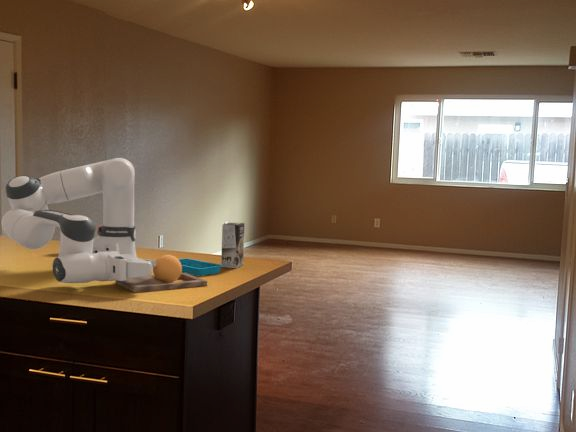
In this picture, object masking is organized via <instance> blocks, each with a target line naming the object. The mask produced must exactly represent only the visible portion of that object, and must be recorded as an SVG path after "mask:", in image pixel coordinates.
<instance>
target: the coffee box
mask: <svg viewBox="0 0 576 432" xmlns="http://www.w3.org/2000/svg"><path fill="white" fill-rule="evenodd" d="M221 232H222V233H221V255H220V256H221V257H220V258H221V262H220V263H221V264H220V265H223V266H222V267H221V268H225V267H226V268H227V269H238V268H240V267H242V266H243V265H244V259H245V258H244V257H245V252H244V251H245V222H226V223H223V224H222V230H221Z"/></svg>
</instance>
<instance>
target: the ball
mask: <svg viewBox="0 0 576 432" xmlns="http://www.w3.org/2000/svg"><path fill="white" fill-rule="evenodd" d="M178 259H179V258H177V257H176V256H175V255H172V254H162V255H161V256H159V257H158V258H157V259H155V261H156V266H155V267H152V274H153V275H155V277H156V278H157V279H158V280H160V281H162V282H165V283H171V282H177V280H179V279H178V278H179V276H180V275H181V273H182V266H181V263H180V261H179V260H178Z"/></svg>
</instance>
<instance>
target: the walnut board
mask: <svg viewBox="0 0 576 432" xmlns="http://www.w3.org/2000/svg"><path fill="white" fill-rule="evenodd" d="M177 280H183V281H174V282H171V283H165V282H162V281H160V280H158V279H157V278H156V277H155V275H154V274H151V275H148V276H143V277H137V278H126V280H125V281H116V280H114V281H115V284H116V285H119V286H120V287H122V288H124V289H126V290H128V291H130V292H132V293H142V292H143V293H144V292H153V291H155V292H157V291H163V290H164V291H165V290H174V289H177V290H178V289H186V288H195V287H207V286H208V280H205V279H203V278H200V277H199V276H196V275H192V274H188V273H182V272H181V275H180V276H179V278H178V279H177Z"/></svg>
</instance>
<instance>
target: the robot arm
mask: <svg viewBox="0 0 576 432" xmlns="http://www.w3.org/2000/svg"><path fill="white" fill-rule="evenodd" d="M135 174H136V170H135V167H134V165H133V163H132V162H131V161H129V160H128V159H126V158H123V157H115V158H111V159H106V160H102V161H98V162H94V163H89V164H85V165H80V166H77V167H72V168H71V167H70V168H67V169H64V170H59V171H55V172H52V173H50V174H46V175H44V176H41V177H39V178H37V177H33V176H32V175H31V176H30V175H19V176H16V177H13V178H12V179H10V180H9V181H8V182H7V183H6V185H5V194H6V195H5V196H6V197H7V198H8V201H9V205H10V208H11V209H9V210H8V211H6V212H5V214H4V215H3V216H2V218H1V223H0V224H1V228H2V231H4V233H5V234H6V235H7V236H8V237H9V238H10V239H11V240H12V241H14V242H15V243H16V244H19V246H22V247H23V248H25V249H28V250H39V249H41V248H43V247H45V246H46V245H48V244H49V243H50V242H51V240H52V239H53V236H54V233H55V230H56V228H59V234H60V236H59V248H58V249H59V251H58V256H55V258H54V259H53V260H52V273H53V277H54V279H55V280H56V281H57V282H58V283H62V284H63V283H64V284H87V283H90V282H95V281H96V282H108V281H109V282H112V281H125V280H126V278H137V277H143V276H148V275H153V267H155V266H156V259H155V260H154V259H151V258H150V259H146V258H145V259H143V258H140V257H138V255H137V251H136V243H135V242H136V238H137V237H136V235H137V229H136V225H135V178H136V177H135V176H136V175H135ZM97 194H102V203H103V207H102V208H103V209H102V210H103V212H102V213H103V215H102V217H103V218H102V219H103V220H102V221H103V223H102V224H103V225H102V224H101V225H99V226H98V227H97V226H96V224H95V222H94V221H93V220H92V219H91V218H90V217H89V216H86V215H82V214H71V213H68V212H67V213H66V212H62V211H58V210H53V209H50V208H49V207H48V204H49V205H50V204H57V203H65V202H70V201H73V200H78V199H81V198H86V197H89V196H95V195H97ZM96 230H97V232H96ZM96 233H97V236H95V234H96Z"/></svg>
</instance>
